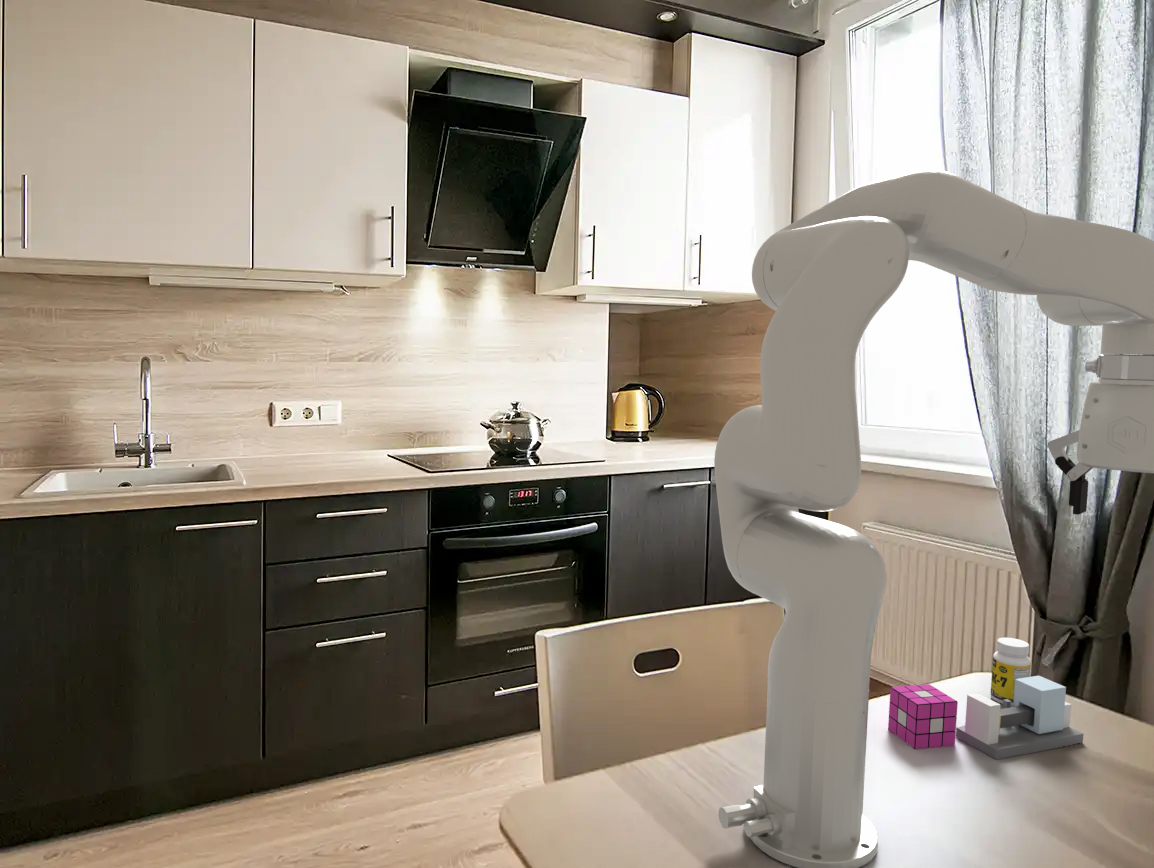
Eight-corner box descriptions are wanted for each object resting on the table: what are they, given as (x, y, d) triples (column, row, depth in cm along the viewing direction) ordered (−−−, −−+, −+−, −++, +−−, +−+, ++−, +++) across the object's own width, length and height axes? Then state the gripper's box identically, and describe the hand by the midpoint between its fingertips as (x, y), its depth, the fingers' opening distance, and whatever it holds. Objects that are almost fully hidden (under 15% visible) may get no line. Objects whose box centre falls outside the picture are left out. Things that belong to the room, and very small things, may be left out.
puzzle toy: (955, 745, 106) (958, 701, 105) (914, 749, 105) (917, 704, 104) (926, 726, 112) (929, 683, 111) (887, 729, 110) (890, 686, 110)
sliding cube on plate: (996, 759, 102) (999, 710, 102) (955, 736, 108) (958, 690, 108) (1082, 742, 107) (1086, 696, 107) (1039, 721, 113) (1042, 677, 113)
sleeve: (1038, 734, 106) (1041, 691, 106) (1012, 720, 110) (1015, 679, 109) (1062, 729, 107) (1066, 687, 107) (1035, 716, 111) (1038, 675, 111)
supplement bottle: (983, 693, 122) (987, 636, 122) (1014, 693, 123) (1018, 635, 122) (1003, 707, 118) (1007, 648, 117) (1035, 706, 118) (1040, 647, 117)
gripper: (1044, 369, 101) (1034, 512, 103) (1226, 374, 89) (1212, 536, 91) (1062, 369, 107) (1053, 505, 108) (1236, 373, 95) (1223, 526, 97)
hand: (1126, 519), depth 100 cm, fingers open, 9 cm apart
